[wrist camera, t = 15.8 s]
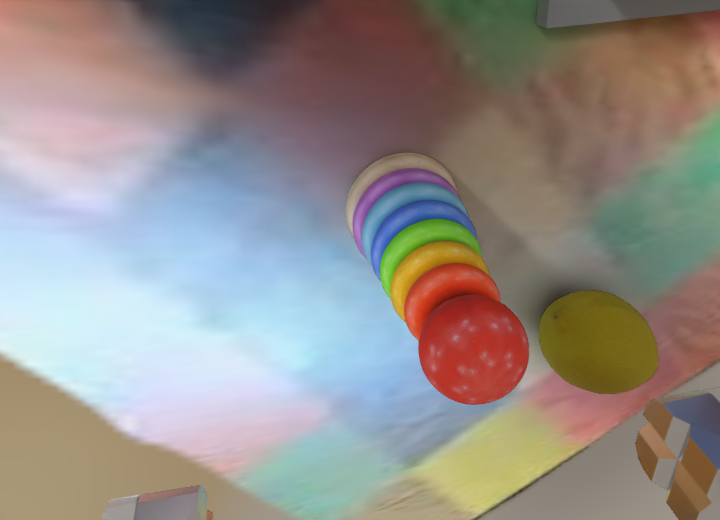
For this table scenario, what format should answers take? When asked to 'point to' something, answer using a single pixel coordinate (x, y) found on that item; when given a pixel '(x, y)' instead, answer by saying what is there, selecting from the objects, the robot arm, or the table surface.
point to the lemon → (598, 342)
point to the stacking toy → (437, 277)
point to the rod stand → (613, 10)
